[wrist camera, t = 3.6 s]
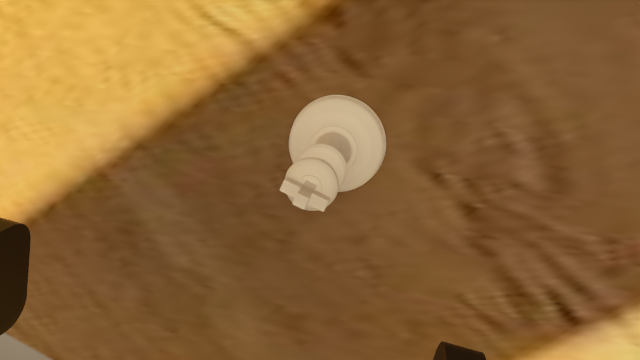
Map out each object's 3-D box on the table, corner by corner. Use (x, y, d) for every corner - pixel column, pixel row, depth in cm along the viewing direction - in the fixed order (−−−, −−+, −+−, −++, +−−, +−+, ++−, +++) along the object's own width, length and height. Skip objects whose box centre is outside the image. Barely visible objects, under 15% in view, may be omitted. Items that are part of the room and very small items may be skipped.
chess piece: (313, 77, 27) (262, 101, 17) (403, 121, 26) (402, 169, 17) (275, 164, 28) (207, 230, 18) (359, 205, 28) (336, 294, 18)
